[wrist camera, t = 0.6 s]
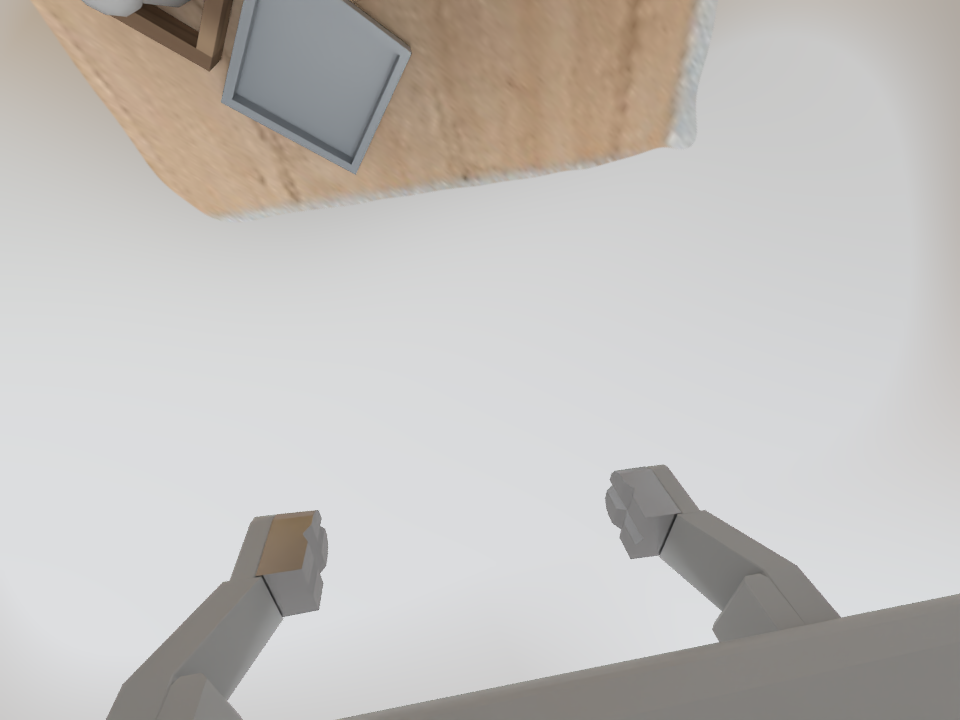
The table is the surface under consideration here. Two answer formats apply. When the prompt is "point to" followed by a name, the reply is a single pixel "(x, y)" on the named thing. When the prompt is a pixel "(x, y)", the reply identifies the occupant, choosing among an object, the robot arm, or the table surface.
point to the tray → (315, 74)
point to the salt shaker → (128, 5)
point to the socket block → (186, 31)
